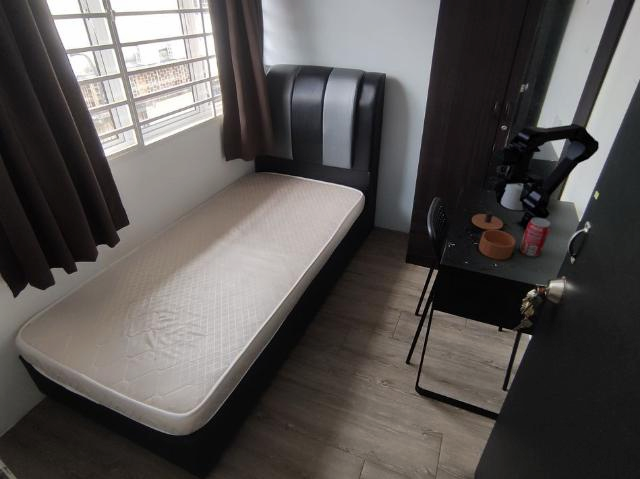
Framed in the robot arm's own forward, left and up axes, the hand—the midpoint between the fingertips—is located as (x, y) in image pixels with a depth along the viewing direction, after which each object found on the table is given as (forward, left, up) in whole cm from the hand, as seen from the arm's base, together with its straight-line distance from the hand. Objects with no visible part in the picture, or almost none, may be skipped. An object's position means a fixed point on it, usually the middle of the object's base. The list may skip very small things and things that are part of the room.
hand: (509, 202), depth 146 cm
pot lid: (+2, -6, -12) cm, 14 cm away
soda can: (-2, +15, -13) cm, 20 cm away
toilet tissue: (-18, -19, -13) cm, 29 cm away
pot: (+10, +12, -13) cm, 20 cm away
